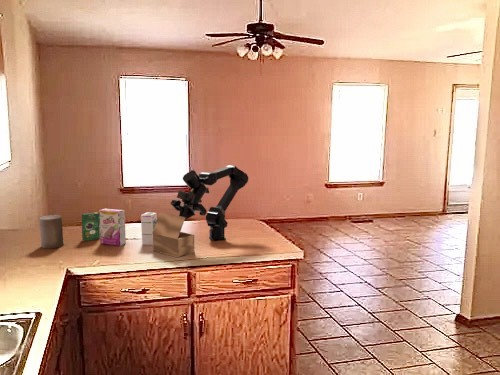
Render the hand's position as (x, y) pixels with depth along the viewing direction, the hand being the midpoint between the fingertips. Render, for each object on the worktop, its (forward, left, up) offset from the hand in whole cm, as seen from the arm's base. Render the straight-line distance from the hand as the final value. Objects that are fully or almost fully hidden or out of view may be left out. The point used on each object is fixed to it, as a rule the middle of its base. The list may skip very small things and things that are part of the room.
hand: (178, 222), depth 220 cm
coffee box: (+33, -36, -13) cm, 51 cm away
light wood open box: (+3, +1, -13) cm, 13 cm away
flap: (+5, +2, 0) cm, 6 cm away
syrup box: (+9, -17, -13) cm, 23 cm away
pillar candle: (+51, -32, -13) cm, 62 cm away
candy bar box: (+25, -23, -13) cm, 36 cm away
